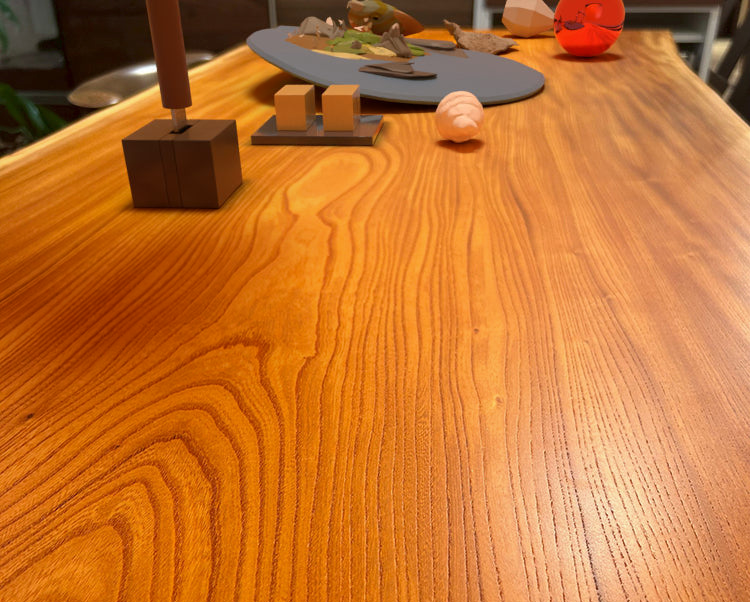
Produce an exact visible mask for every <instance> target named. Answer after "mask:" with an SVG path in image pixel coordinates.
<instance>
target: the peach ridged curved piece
mask: <svg viewBox="0 0 750 602" xmlns="http://www.w3.org/2000/svg"><path fill="white" fill-rule="evenodd" d="M485 117H486V116H485V112H484V107H483V105H481V103H480V102H479V101H478V99H477V98H476V97H475V96H474V95H473V94H471V93H469V92H466V91H458V92H453V93H450V94H448V95H447V96H446V97H445V98H444V99H443V100H442V101H441V102H440V104H439V105H437V108H436V110H435V113H434V121H435V127H436V130H437V133H438V134H439V135H440V136H441V137H442V138H443V139H445V140H448V141H450V140H451V141H453V142H454V143H456V144H457V143H464V142H467V141H469V140H471V139H472V138H473V137H475V136H476V135H478V134H479V133H480V131H481V130H482V127H483V125H484V121H485Z"/></svg>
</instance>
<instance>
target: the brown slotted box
mask: <svg viewBox="0 0 750 602" xmlns="http://www.w3.org/2000/svg"><path fill="white" fill-rule="evenodd" d="M187 125H188V130H186V131H185V132H184V133H182V134H174V129H173V122H172V118H155V119H153V120H150V121H149V122H148V123H147V124H144V125H143V126H141V127H140V128H138V129H137V130H135V131H133V132H131V133H130V134H128V135H127V136H125V137H124V138H122V139H121V145H122V152H123V157H124V162H125V168H126V172H127V178H128V185H129V188H130V194H131V199H132V205H133V207H134V208H168V209H169V208H170V209H171V208H173V209H176V208H177V209H178V208H179V209H182V208H184V209H220V208H221V207H222V206H223V204H225V202H226V201H227V200H228V199H229V198H230V197H231V195H233V194H234V193H235V191H236V190H237V189H238V188H239V187H240V186H241V185H242V184H243V182H244V179H243V171H242V163H241V155H240V154H241V153H240V144H239V136H238V134H239V133H238V125H237V120H236V119H220V118H219V119H213V118H212V119H208V118H207V119H205V118H204V119H201V118H199V119H198V118H192V119H191V118H187Z"/></svg>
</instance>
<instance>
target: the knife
mask: <svg viewBox="0 0 750 602" xmlns="http://www.w3.org/2000/svg"><path fill="white" fill-rule="evenodd" d="M145 4H146V10H147V16H148V23H149V29H150V35H151V42H152V48H153V55H154V56H153V57H154V61H155V67H156V74H157V80H158V87H159V94H160V100H161V106H162V108H163V109H165V110H170V114H171V119H172V122H173V129H174V134H182V133H184V132H185V131H186V130H188V125H187V119H188V118H187V112H186V111H187V110H186V109H187V108H190V107H192V106H193V99H192V92H191V85H190V78H189V77H190V76H189V71H188V64H187V57H186V49H185V48H186V47H185V42H184V41H185V40H184V35H183V27H182V20H181V12H180V6H179V0H145Z"/></svg>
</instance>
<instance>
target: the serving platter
mask: <svg viewBox="0 0 750 602" xmlns="http://www.w3.org/2000/svg"><path fill="white" fill-rule="evenodd" d="M346 9H349V5H348V4H347V5H346ZM367 20H368V18H364V21H365V22H366V21H367ZM349 21H350V23H353V21H352V20H348V22H349ZM338 22H339V23H340V25H341V29H340V26H337V24H336V21H335V20H333V19H332V17H331V16H329V17H327V19H326V20H325V21H324V20H321V19H319V18H317V17H316V16H308V17H306V18H305V19H304V20H303V21H302V22H300V25H299V26H293V25H292V26H291V25H278V26H277V27H275V28H265V29H259V30H257V31H254V32H253V33H251V34H250V35H248V37H247V38H246V41H245V42H246V45H247V46H248V48H249V49H250V50H251V52H253V53H254V54H255V55H257V56H258V57H259V58H260V59H262V60H264V61H265V62H266V63H268V64H270V65H272V66H273V67H276V68H277V69H279V70H281V71H283V72H284V73H286V74H288V75H291V76H292V77H295V78H296V79H299V80H302V81H305V82H307V83H308V84H311V85H314V86H317V87H321V88H324V89H327V88H328V87H329V86H330V85H360V98H366V99H372V100H378V101H383V102H390V103H391V102H392V103H401V104H402V103H403V104H413V105H430V106H431V105H433V106H438V105H439V104H440V102H441V101H442V100H443V99H444V98H445V97H446V96H447V95H448V94H450V93H453V92H458V91H466V92H469V93H471V94H473V95H474V96H475V97H476V98H477V99H478V101H479V102H480V103H481V105H482V106H487V105H488V106H489V105H499V104H506V103H511V102H516V101H520V100H523V99H526V98H529V97H532V96H534V95H536V93H539V91H540V90H541V89H542V88H543V86H544V85H545V83H546V77H545V75H544V73H543V72H541V71H538V70H537V69H535V68H533V67H530V66H528V65H526V64H525V63H522V62H520V61H517V60H515V59H511V58H508V57H504V56H500V55H497V54H494V55H493V54H488V53H483V52H477V51H471V50H464V49H460V48H459V47H457V43H455V42H454V41H452V40H443V39H429V38H428V39H426V38H415V37H414V38H413V37H406V38H404V36H403V34H402V35H400V31H399V24H398V22H397V23H396V24H394V25H393V26H392V27H391V28H390V30H389V32H388V33H387V32H384V33H383V35H382V36H379V35H375V34H372V33H369V32H364V33H363V32H359V31H356V30H355V29H358V30H360V31H362V30H361V29H360V28H362V27H364V29H365V31H367V30H368V27H369V28H371V25H372V22H370V23H369V24H368V25H367V26H361V27H354V28H355V29H348V28H347V27H346V23H345V19H342V20H340V19H338ZM350 23H349V24H350ZM370 32H371V31H370Z"/></svg>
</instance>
